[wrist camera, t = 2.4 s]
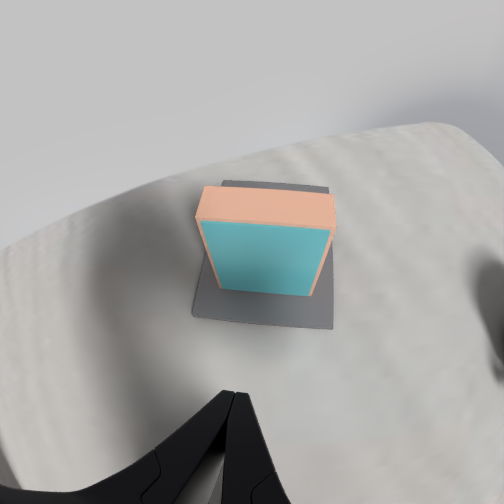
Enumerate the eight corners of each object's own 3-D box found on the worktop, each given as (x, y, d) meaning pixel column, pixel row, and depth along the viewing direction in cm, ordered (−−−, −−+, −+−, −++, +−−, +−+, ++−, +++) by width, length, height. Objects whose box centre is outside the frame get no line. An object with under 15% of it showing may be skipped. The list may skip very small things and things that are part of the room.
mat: (331, 329, 22) (333, 327, 22) (193, 316, 23) (191, 314, 23) (327, 190, 30) (328, 187, 30) (224, 183, 32) (223, 180, 31)
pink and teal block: (311, 297, 23) (336, 229, 15) (219, 289, 24) (194, 219, 16) (311, 270, 25) (333, 194, 16) (224, 263, 25) (204, 186, 17)
